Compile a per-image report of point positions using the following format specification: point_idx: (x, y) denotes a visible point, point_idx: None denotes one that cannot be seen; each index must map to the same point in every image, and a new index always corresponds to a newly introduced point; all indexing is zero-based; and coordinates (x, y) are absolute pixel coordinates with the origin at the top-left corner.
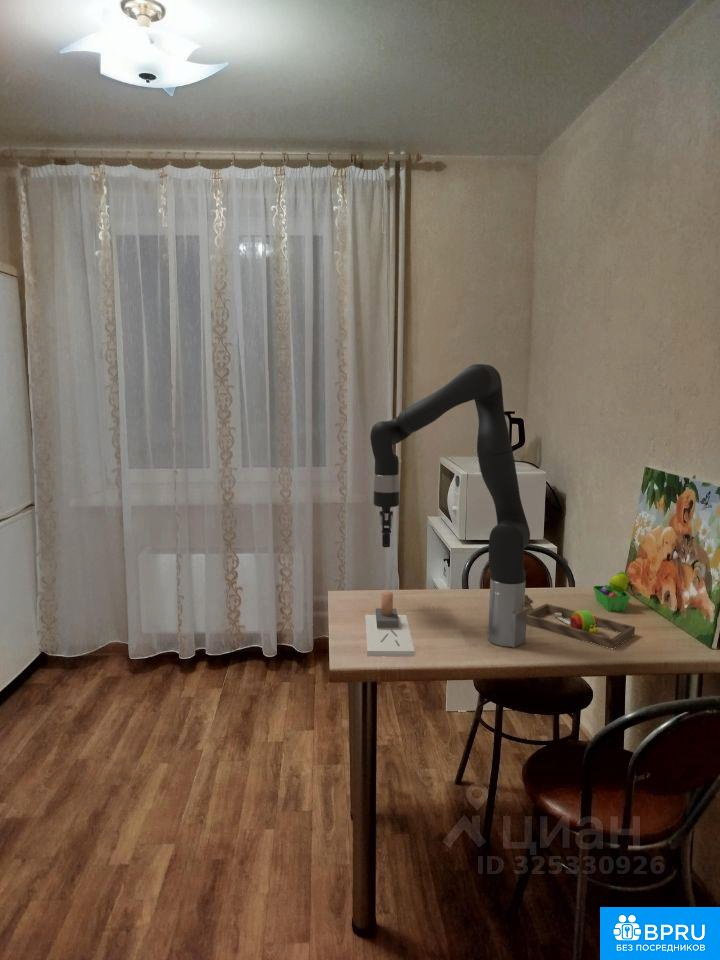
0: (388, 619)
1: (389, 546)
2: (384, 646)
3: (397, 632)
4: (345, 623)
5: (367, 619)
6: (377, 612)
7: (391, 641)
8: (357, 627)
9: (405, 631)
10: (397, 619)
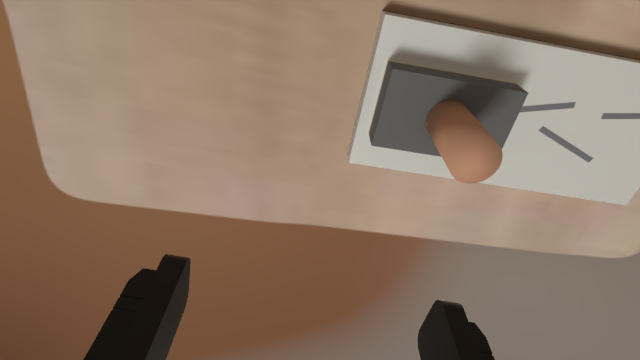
0: (497, 125)
1: (461, 306)
2: (626, 158)
3: (543, 94)
4: (365, 210)
5: (394, 164)
6: (415, 148)
7: (603, 130)
8: (406, 186)
9: (548, 63)
10: (511, 93)
